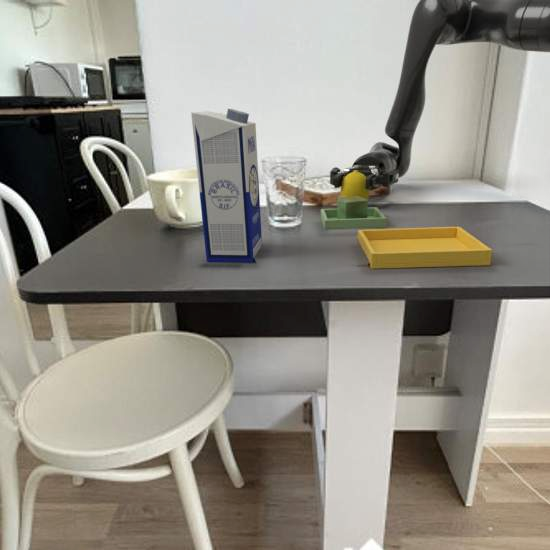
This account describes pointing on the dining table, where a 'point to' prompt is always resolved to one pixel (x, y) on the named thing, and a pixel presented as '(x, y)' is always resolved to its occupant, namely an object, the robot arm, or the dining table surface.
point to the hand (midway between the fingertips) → (351, 182)
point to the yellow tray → (422, 248)
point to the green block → (352, 207)
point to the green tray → (353, 220)
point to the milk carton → (228, 185)
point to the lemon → (355, 185)
